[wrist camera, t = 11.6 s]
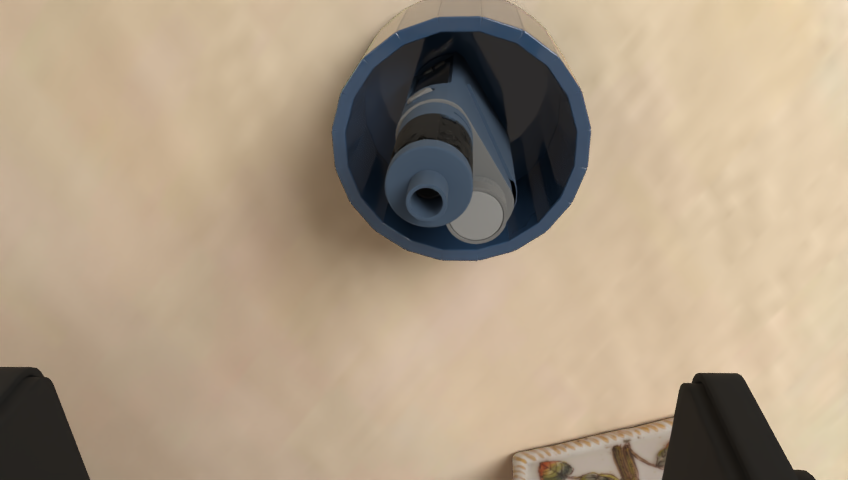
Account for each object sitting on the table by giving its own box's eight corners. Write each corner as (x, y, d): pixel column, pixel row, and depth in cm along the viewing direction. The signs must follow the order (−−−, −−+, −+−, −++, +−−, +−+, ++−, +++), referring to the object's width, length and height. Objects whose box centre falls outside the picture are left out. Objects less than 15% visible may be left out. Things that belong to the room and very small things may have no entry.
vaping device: (456, 36, 27) (445, 136, 16) (518, 145, 29) (544, 299, 18) (401, 69, 27) (356, 186, 17) (464, 173, 29) (460, 337, 19)
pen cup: (348, -7, 27) (320, 18, 22) (578, -11, 26) (602, 14, 21) (363, 200, 31) (342, 260, 26) (562, 201, 30) (579, 262, 26)
